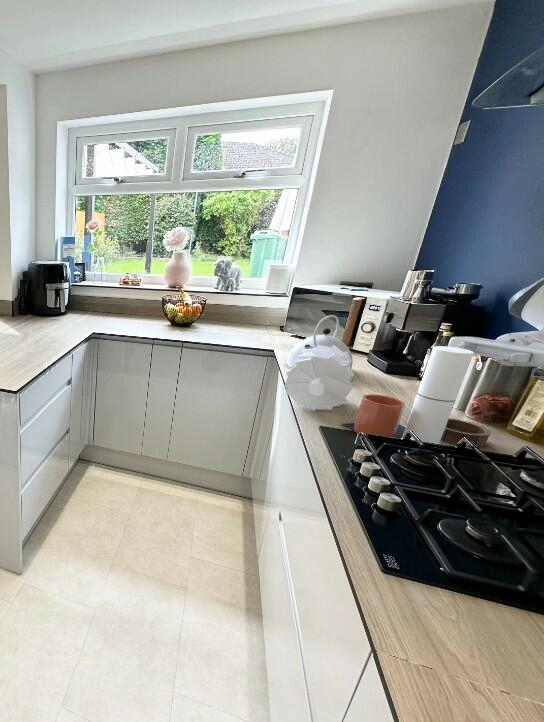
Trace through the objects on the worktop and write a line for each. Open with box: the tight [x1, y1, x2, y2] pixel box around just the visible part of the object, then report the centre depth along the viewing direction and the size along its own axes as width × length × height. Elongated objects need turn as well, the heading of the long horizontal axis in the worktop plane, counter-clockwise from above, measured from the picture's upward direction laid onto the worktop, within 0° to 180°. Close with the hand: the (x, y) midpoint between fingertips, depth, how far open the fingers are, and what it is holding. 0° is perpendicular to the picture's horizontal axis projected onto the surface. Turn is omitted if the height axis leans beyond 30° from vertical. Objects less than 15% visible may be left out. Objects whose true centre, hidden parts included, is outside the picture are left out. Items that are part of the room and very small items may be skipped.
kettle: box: [286, 314, 354, 371], centre depth 166 cm, size 25×23×22 cm
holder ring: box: [440, 417, 492, 448], centre depth 108 cm, size 11×11×4 cm
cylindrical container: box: [403, 345, 474, 444], centre depth 103 cm, size 7×7×25 cm
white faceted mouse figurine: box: [283, 345, 355, 412], centre depth 131 cm, size 18×18×25 cm
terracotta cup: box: [354, 393, 406, 437], centre depth 110 cm, size 9×9×10 cm
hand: (482, 352), depth 102 cm, fingers open, 8 cm apart
